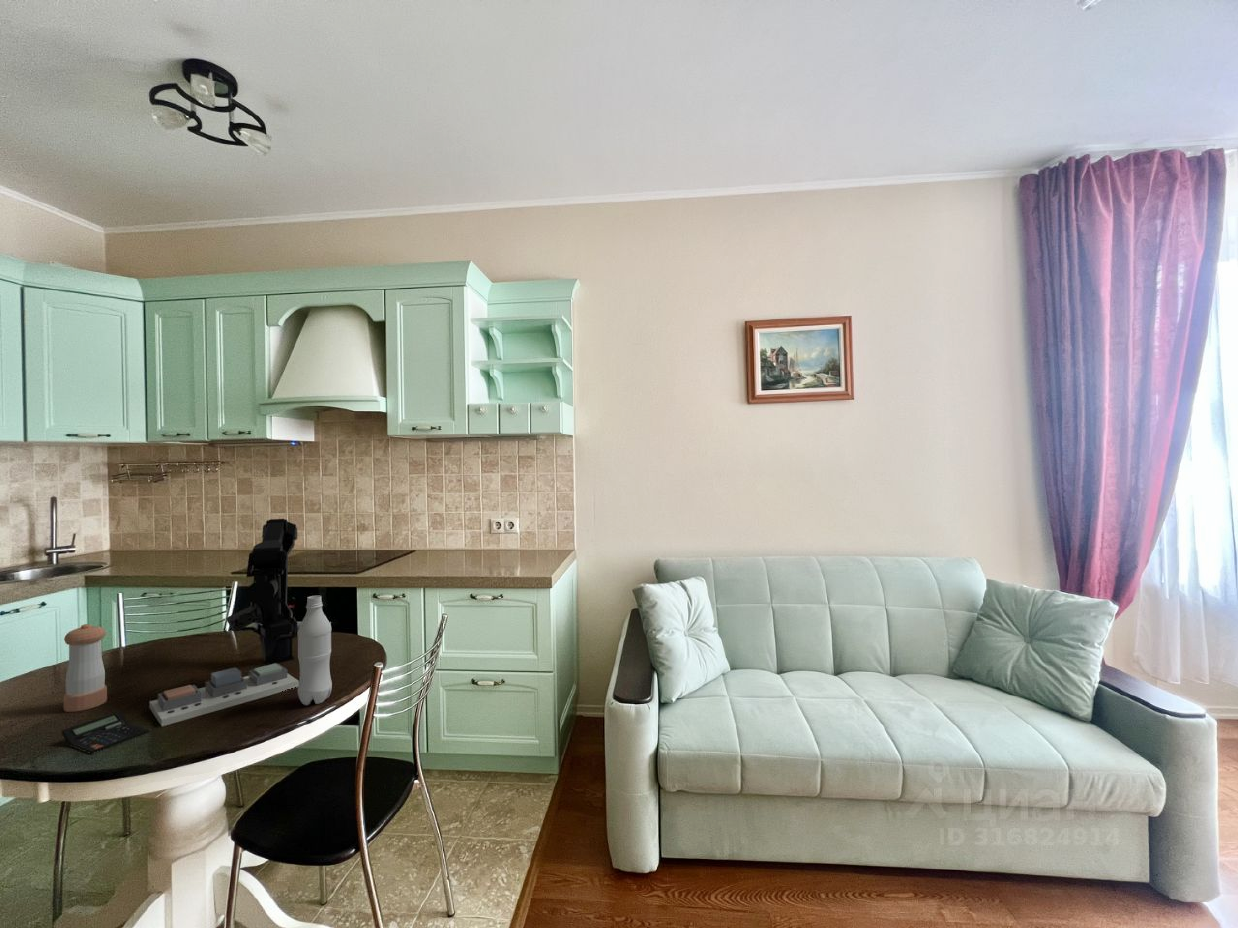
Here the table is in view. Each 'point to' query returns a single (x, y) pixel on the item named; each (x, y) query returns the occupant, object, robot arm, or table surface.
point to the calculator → (102, 733)
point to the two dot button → (225, 677)
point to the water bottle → (314, 654)
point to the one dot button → (267, 669)
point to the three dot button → (179, 692)
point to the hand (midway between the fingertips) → (267, 655)
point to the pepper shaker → (85, 669)
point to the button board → (220, 696)
